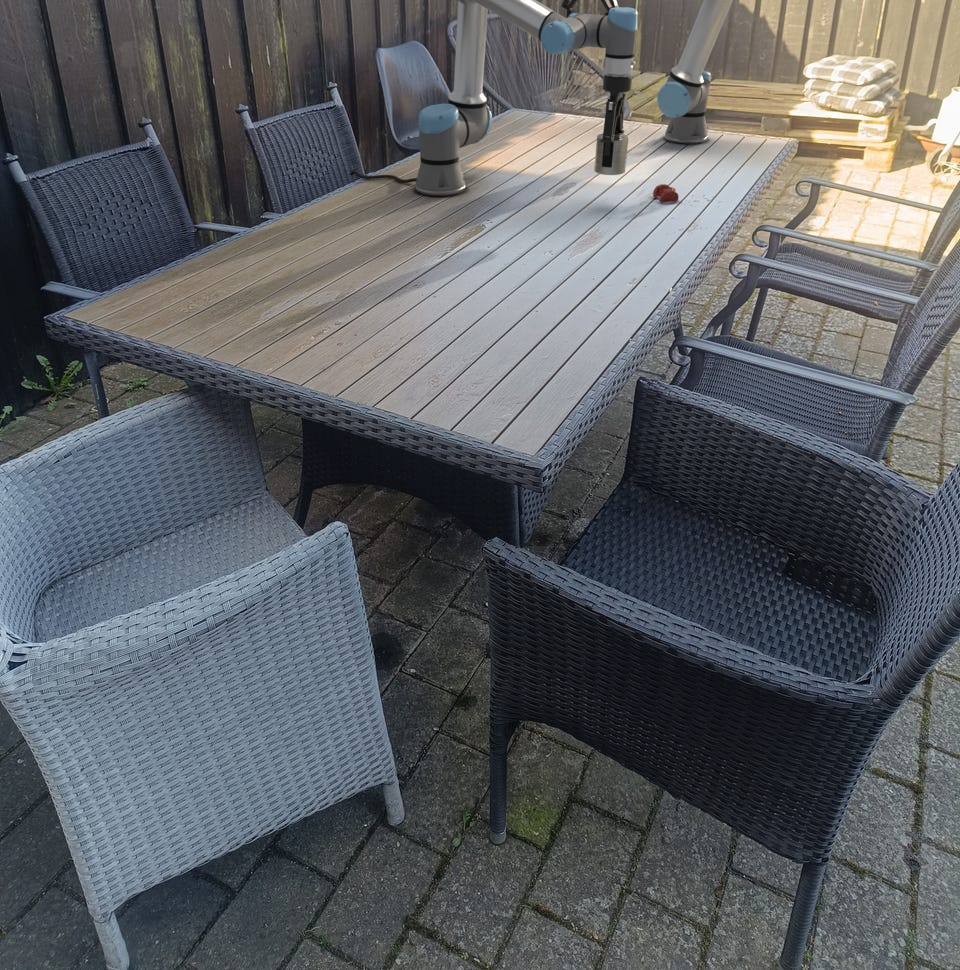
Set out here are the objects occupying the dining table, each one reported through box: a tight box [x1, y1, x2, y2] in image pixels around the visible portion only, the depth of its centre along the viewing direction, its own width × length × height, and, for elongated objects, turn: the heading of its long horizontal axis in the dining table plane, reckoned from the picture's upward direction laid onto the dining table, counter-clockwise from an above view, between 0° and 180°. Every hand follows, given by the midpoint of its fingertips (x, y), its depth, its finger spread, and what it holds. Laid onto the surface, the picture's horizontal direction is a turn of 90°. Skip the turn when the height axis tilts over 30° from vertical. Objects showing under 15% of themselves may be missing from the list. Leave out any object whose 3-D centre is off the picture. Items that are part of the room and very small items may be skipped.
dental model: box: [652, 183, 679, 203], centre depth 249 cm, size 6×4×8 cm
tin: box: [593, 133, 630, 176], centre depth 236 cm, size 9×9×9 cm
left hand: (610, 162), depth 237 cm, fingers closed on tin, 9 cm apart
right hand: (588, 32), depth 295 cm, fingers open, 13 cm apart
